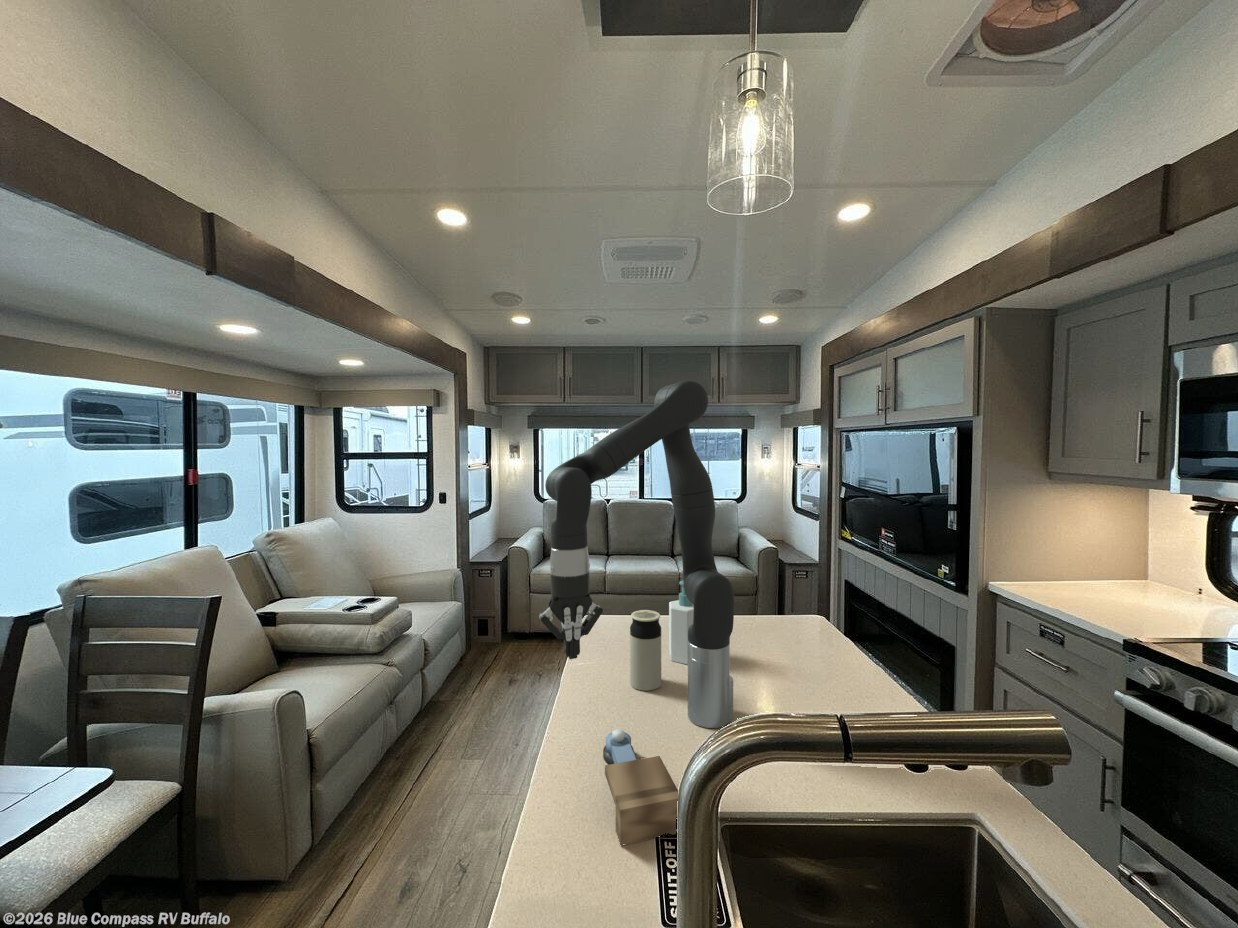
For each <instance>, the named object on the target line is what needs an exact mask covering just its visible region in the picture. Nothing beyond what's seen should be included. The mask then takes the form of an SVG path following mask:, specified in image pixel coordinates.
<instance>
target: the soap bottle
mask: <svg viewBox="0 0 1238 928" xmlns="http://www.w3.org/2000/svg"><path fill="white" fill-rule="evenodd" d="M678 584H679V585H680V586H681V592H679V593H678V599H677V600H673V601H669V603H668V625H669V626H668V633H669V635H668V645H669V646H668V647H669V649H668V653H669V659H670V661H672V662H675V663H679V664H684V665H687V666H688V629H689V627H690V626H691V625H692V624H693V613H694V605H693V604H692V603H691V602H690V601H689V599H688V598H687V596H686V594H685V591H684V583H683V580H680V581H679V583H678Z"/></svg>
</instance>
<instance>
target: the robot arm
mask: <svg viewBox="0 0 1238 928" xmlns="http://www.w3.org/2000/svg"><path fill="white" fill-rule="evenodd" d="M708 406H709V397H708V393H707V391H706V389H705V387H704V386H703V385H702V384H700V383H699V382H696V381H695V380H683V381H682V380H681V381H678V382H675V383H672V384H668V385H665V386H663V387H661V388H660V389H659V390H658V391H657V392H656V395H655V398H654V402H653V407H654V408H653V409H651V410H650V411H648V412H647V413H645V414H644V415H642V416H640V417H639V418H637V419H634V420H633V421H631V422H628V423H627V424H625V425H623V426H621V427H620V428H617V429H616V430H614V431H612V432H611V433H609V434H608V435H607V436H605V437H604V438H602V439H601V440H599V441H597V442H596V443H595V444H593V445H592V446H591V447H590V448H588V449H587V450H585V451H584V452H582V453H580V454H578V455H576V456H574V457H572V458H571V459H569V460H567V461H565V462H562V463H561V464H559V465H558V466H557V467H555V468H554V469H553V470H552V471H550V472H549V474H548V475H547V477H546V480H545V482H544V483H545V484H544V485H545V491H546V494H547V495H548V497H550V498H551V499H552V500H554V501H555V502H556V516H555V518H553V519H552V521H551V523H550V524H551V525H550V542H551V543H550V544H551V545H550V546H551V549H550V558H549V559H550V565H549V566H550V570H549V571H550V601H549V602H548V608H546V610H545V611H542V612H539V614H538V618H539V620H540V622H541V623H542V624H543V625H544V626H545V627H546V629H548V630H549V631H550V633H552V635H553V636H555V638H556V639H557V640H563V652H564V654H565V656H566V657H567V658H568V659H569V660H573V659H575V660H576V659H578V656H579V655H580V653H581V638H582V637H583V636H587V635H589V634H590V633H591V631H592V629H593V628H594V626H595V625H596V623H597V621H598V620H599V618H600V617H601V615H602V614H603V612H604V611H603V610H604V609H603V607H601V606H600V605H599V604H596V603H594V602H593V599H592V597H591V593H590V592H591V591H590V590H591V589H590V588H591V587H590V586H591V585H590V584H591V582H590V566H591V564H590V555H589V549H588V547H589V546H588V527H587V524H588V520H589V515H590V508H591V504H592V491H593V490H592V484H593V483H595V482H597V481H602V480H606V479H608V478H609V477H611V476H613V475H614V474H615V473H616V472H618V471H620V470H621V469H622V468H623V467H625V466H626V465H628V464H629V463H630V462H632V461H633V460H634V459H635V458H636V457H638V456H639V455H641V454H642V453H643V452H645V451H646V450H648V449H650V448H651V447H652V446H654V444H656V443H658V442H659V441H661V442H662V446H663V449H664V456H665V463H666V467H667V468H666V469H667V474H668V480H669V487H670V494H671V501H672V507H673V514H674V518H675V524H676V529H677V534H678V539H679V543H680V548H681V561H682V578H683V579H682V581H683V583H684V591H685V594H686V596H687V598H688V599H689V601H690V602H691V603H692V604H693V605H694V613H693V624H692V625H691V626H690V627H689V629H688V665H687V717H688V719H689V720H690V721H691V722H692V723H693V724H695V725H697V726H699V727H702V728H707V729H718V728H722V727H724V726H726V725H727V724H728V723H729V722H733V721H734V678H733V677H732V676H731V675H730V674H731V673H730V669H731V668H730V667H731V665H730V663H731V662H730V661H731V659H730V655H731V654H730V649H731V648H730V647H731V646H730V645H731V643H730V642H731V641H730V640H731V635H732V633H733V630H734V629H733V628H734V616H735V592H734V587H733V585H732V583H731V581H730V580H729V579H728V578H727V577H726V576H725V575H723V574H722V573H720V572H719V571H718V568H717V565H716V561H715V555H714V551H713V542H712V541H713V530H714V526H715V518H716V504H715V503H716V502H715V497H714V489H713V485H712V481H711V480H712V479H711V478H710V475H709V472H708V471H707V469H706V467H705V466H704V464H703V463H702V460H701V458H700V457H699V456H698V454H697V452H696V450H695V447H694V445H693V441H692V436H691V429H690V424H692V423H695V422H697V421H699V420H700V419H701V418H702V417H703V416H704V415H705V414H706V412H707V409H708ZM587 613H588V614H587ZM552 614H554V616H555V617H556V618H557V619H558V620H559V622H560V624H561V629H559V627H558V626H556V624H555V623H554V622H553V620H554V618H553V615H552ZM585 616H586V617H585ZM584 617H585V618H584Z"/></svg>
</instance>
